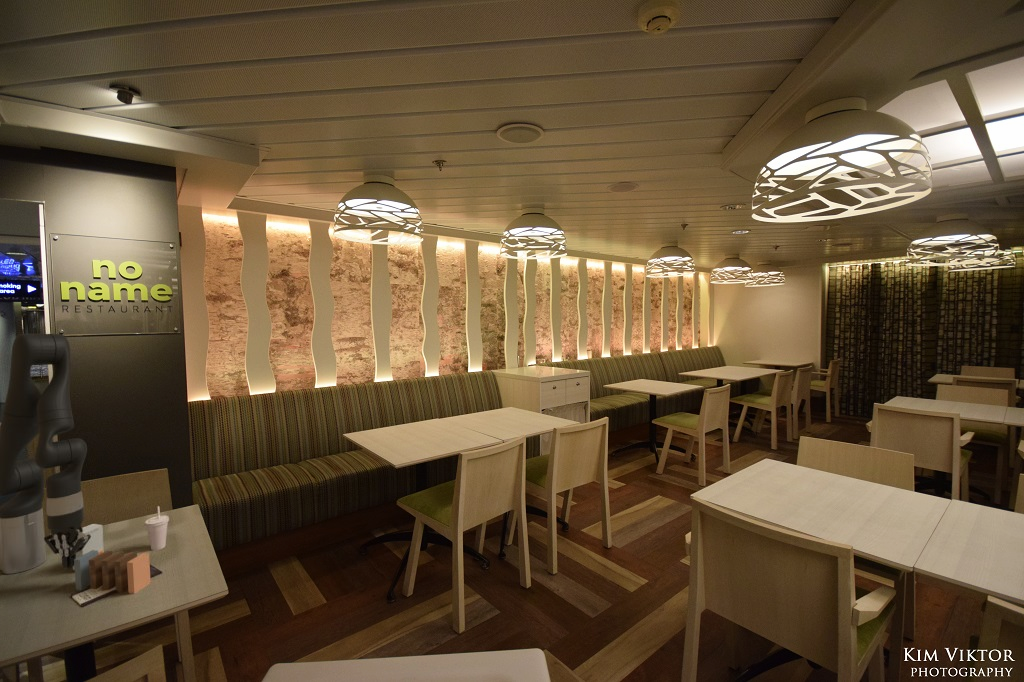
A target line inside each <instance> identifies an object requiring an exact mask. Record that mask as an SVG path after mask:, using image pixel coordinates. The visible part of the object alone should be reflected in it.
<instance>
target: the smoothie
mask: <svg viewBox="0 0 1024 682" xmlns="http://www.w3.org/2000/svg"><path fill="white" fill-rule="evenodd" d="M156 508H157V515H156V516H154V517H151V518H148V519H146V520H145V521H144V526H145V527H146V531H147V535H148V539H149V545H150V548H151V551H158V550H162V549H163V548H165V547H166V545H167V543H166V542H167V533H168V525H169V524H168V523H169V521H170V518H169V516H168V515H160V513H161V512H160V510H161V509H160V506H159V505H157V507H156Z"/></svg>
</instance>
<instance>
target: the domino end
mask: <svg viewBox="0 0 1024 682" xmlns="http://www.w3.org/2000/svg"><path fill="white" fill-rule="evenodd" d="M150 565H151V564H150V553H149V552H142V553H141V554H139V555H137V557H136V558H134V559H132V560H130V561H129V562H127V573H128V589H127V590H128V594H130V595H131V594H136V593H139V592H140V591H141V590H142V589H144V588H146V587H147V586H149V585H150V584H151V583H152V582H151V578H150Z"/></svg>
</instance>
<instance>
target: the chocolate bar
mask: <svg viewBox="0 0 1024 682" xmlns="http://www.w3.org/2000/svg"><path fill="white" fill-rule="evenodd" d="M162 574H163V571H162V570H160V569H158V568H157V567H155V566H153V565H152V564H150V579H153V578H154V577H157V576H160V575H162ZM117 593H119V592H118V591H116V586H115V587H113V588H112V589H110V590H103V585H102V586H101V587H99V588H97V589H90V586H88V587H87V588H85V589H83V590H78V591H76V592H75V593H71V594H70V598H72V599H73V600H74V601H75V602H76V603H77V604H79V605H80V606H81V607H82V608H85V607H88V606H89V605H92V604H94V603H96V602H98V601H100V600H103V599H105V598H107V597H111V596H113V595H115V594H117Z"/></svg>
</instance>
